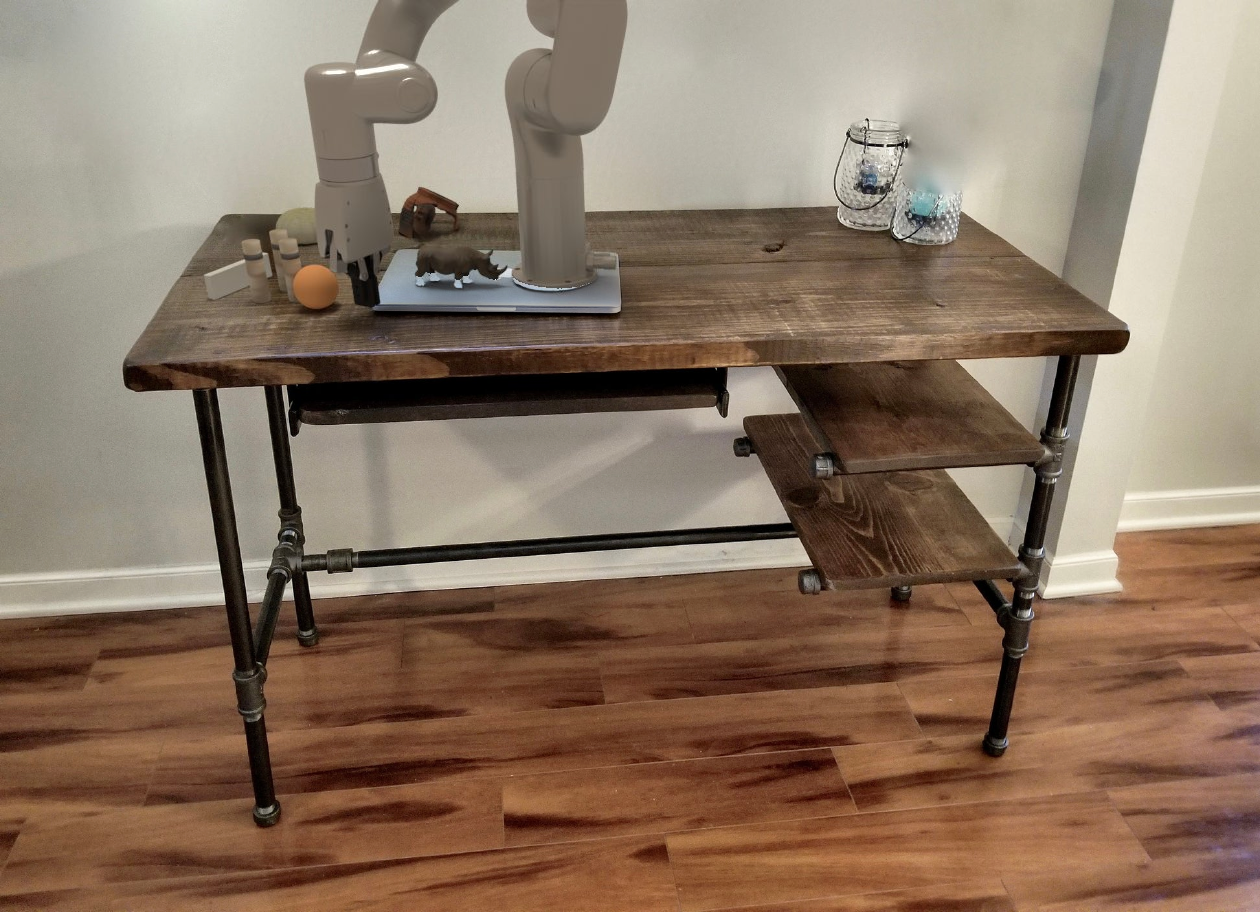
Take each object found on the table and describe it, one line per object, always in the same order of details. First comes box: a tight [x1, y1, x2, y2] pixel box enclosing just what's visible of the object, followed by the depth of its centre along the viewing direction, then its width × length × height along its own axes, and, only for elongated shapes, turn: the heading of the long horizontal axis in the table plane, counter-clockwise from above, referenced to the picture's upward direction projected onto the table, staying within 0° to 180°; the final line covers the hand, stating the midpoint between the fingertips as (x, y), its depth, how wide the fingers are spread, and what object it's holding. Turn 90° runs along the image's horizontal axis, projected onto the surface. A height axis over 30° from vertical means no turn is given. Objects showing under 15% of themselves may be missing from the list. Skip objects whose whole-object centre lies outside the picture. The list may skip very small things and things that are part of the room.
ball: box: [293, 264, 340, 310], centre depth 142 cm, size 6×6×6 cm
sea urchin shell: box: [275, 206, 318, 245], centre depth 170 cm, size 9×8×8 cm
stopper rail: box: [203, 251, 273, 301], centre depth 150 cm, size 1×11×4 cm, turn 151°
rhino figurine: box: [414, 244, 508, 281], centre depth 149 cm, size 4×14×6 cm, turn 82°
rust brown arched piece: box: [398, 186, 460, 239], centre depth 171 cm, size 12×10×8 cm
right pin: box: [268, 228, 288, 293], centre depth 148 cm, size 2×2×8 cm
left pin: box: [240, 238, 272, 304], centre depth 144 cm, size 2×2×8 cm
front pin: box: [278, 238, 303, 304], centre depth 144 cm, size 2×2×8 cm
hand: (367, 304), depth 140 cm, fingers closed
